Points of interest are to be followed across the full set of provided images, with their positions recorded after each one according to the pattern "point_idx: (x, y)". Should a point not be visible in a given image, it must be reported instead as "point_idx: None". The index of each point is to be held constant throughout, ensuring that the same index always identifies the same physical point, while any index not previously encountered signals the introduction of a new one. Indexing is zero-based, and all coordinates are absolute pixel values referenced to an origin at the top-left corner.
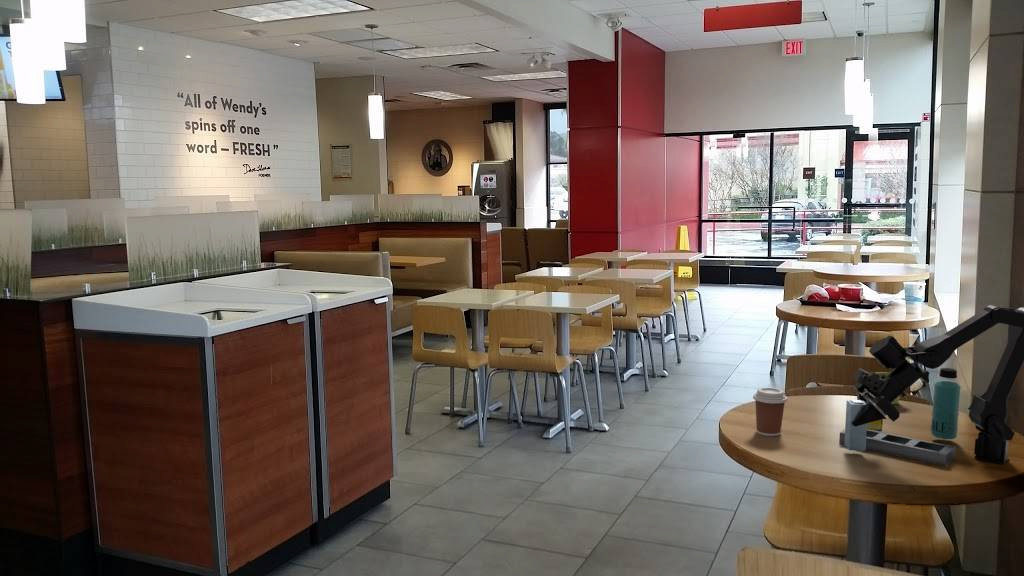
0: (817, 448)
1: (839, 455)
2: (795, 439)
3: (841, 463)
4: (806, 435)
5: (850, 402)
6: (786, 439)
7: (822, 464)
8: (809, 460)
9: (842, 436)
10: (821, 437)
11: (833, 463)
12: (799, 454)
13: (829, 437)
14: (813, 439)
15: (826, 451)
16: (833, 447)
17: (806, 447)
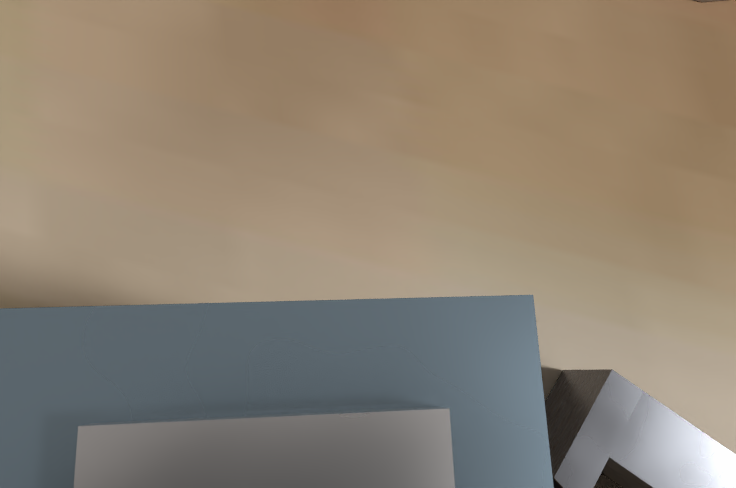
0: (399, 166)
1: (246, 291)
2: (583, 65)
3: (43, 254)
4: (701, 165)
5: (238, 340)
6: (568, 6)
7: (15, 105)
8: (105, 39)
9: (581, 392)
10: (682, 265)
11: (41, 192)
12: (238, 7)
13: (700, 329)
14: (616, 192)
15: (335, 214)
16: (446, 295)
17: (409, 93)
